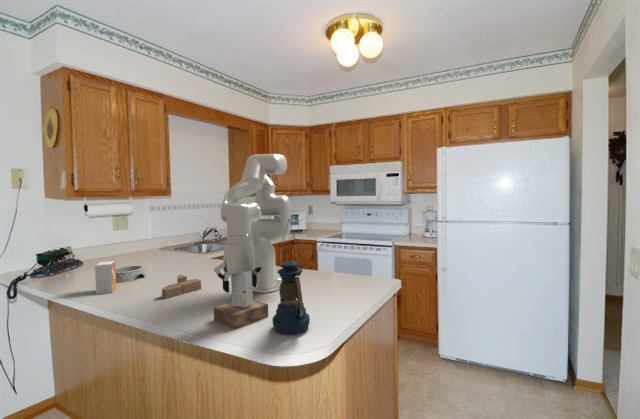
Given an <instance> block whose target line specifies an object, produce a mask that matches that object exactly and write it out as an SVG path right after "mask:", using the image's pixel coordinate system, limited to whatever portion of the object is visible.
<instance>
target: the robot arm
mask: <svg viewBox="0 0 640 419" xmlns="http://www.w3.org/2000/svg"><path fill="white" fill-rule="evenodd" d="M287 170H288V162H287V158H286V156H284V154H278V153H260V154H258V153H257V154H251V155H250V156H249V157H248V158H247V159H246V163H245V166H244V170H243V172H242V175H241V179H240V180H239V181H238V182H237V183H235V184H234V185H233V186H232V187H231V188H229V189H228V191H226V192H225V195H224V197H223V199H222V204H221V207H220V217H221V220H222V221H223V222H224V223H226V234H227V235H226V236H227V237H226V240H227V243H225V245H224V249H223V258H222V259H223V260H222V262H221V263H220V264H219V265H217V266H216V267H214V269H213V270H214V273H215V274H216V275H217V277H218V278H219V279H221V281H222V290H223V291H224V292H225V293H228V294H229V293H230V281H229V278H231V274H238V273H241V272H245V271H252V293H253V292H254V293H256V294H257V293H258V294H266V293H267V294H268V293H272V292H276V291H279V287H280V284H281V279H282V277H277V275H276V274H277V273H276V272H277V270H276V250H275V249H276V248H275V246H274V245H273V244H272V242H270V241H283V238H284V241H285V240H288V239H289V238H290V235H291V225H290V223H291V221H292V220H291V218H292V217H291V212H292V211H291V208H292V206H291V200H290V198H289V197H288V196H287V195H285V194H279V195H278V194H275V193H276V192H275V189H276V188H275V187H276V186H275V183H274V182H273V181H272V179H271V178H270V177H269V176H268V175H284V174H286V172H287ZM252 195H255V202H253V201H252V202H251V201H249V202H248V201H246V202H245V201H241V202H240V200H241V199H244V198H247V197H250V196H252ZM261 217H279V218H261ZM288 219H290V222H288ZM287 223H288V226H287ZM286 227H287V230H286ZM285 231H286V234H285ZM284 234H285V237H284ZM251 240H252V242H251ZM222 269H223V272H224V273H222V272H221V270H222Z"/></svg>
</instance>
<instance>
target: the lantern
mask: <svg viewBox="0 0 640 419" xmlns="http://www.w3.org/2000/svg"><path fill="white" fill-rule="evenodd" d="M288 222H290V219H288ZM287 226H288V223H287ZM286 230H287V227H286ZM290 230H291V232H292V235H293V238H294V241H295V246H296V258H297V261H294V260H286V261H284V241H285V240H284V238H283V240H282V244H281V245H282V247H281V250H282V251H281V252H282V253H281V254H282V257H281V259H282V260H281V263H280V269H278V270H277V274H279V278H280V279H281V278H282V279H281V282H280V283H279V286H280V287H279V289H278V291H279V300H280V301H279V302H280V303H278V304H277V309H275V314H274V316H272V325H273V326H272V327H273V328H274V330H275V332H277V333H278V334H280V335H288V336H290V335H291V336H292V335H297V334H298V335H299V334H301V333H304V332H305V331H306V330H307V329H308V328H309V325H310V320H311V318H310V315H309V313H307V310H306V308H305V304H304V301H303V300H304V299H303V295H302V288H301V287H302V286H301V279H300V276H301V274H302V273H303V269H302V268H301V267H299V266H300V264H299V254H298V253H299V252H298V250H299V249H298V244H297V243H298V242H297V240H296V236H295V233H294V230H293V226H292V223H291V222H290ZM285 234H286V231H285ZM285 234H284V237H285Z"/></svg>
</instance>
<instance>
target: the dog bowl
mask: <svg viewBox="0 0 640 419" xmlns="http://www.w3.org/2000/svg"><path fill="white" fill-rule="evenodd" d="M115 269H116V284H120V283H128V282H129V283H130V282H134V281H135V279H137V278H140V277H141V276H142V275H143V277H144V278H147V273H146V271H145V267H144V266H143V265H126V266H120V267H115Z"/></svg>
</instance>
